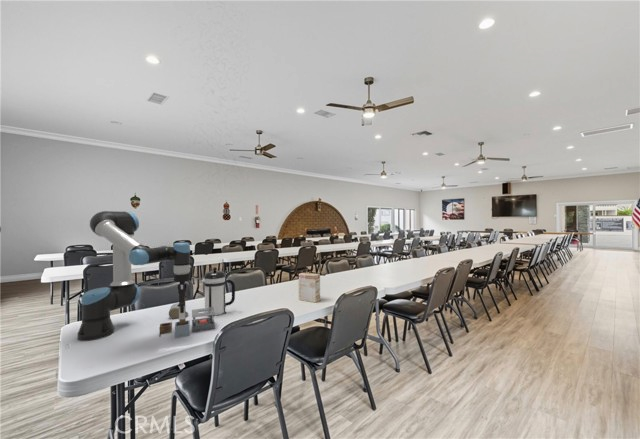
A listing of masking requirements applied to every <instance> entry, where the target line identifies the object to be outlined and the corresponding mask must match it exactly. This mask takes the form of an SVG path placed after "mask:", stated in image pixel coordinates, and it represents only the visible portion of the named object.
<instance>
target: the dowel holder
mask: <svg viewBox="0 0 640 439" xmlns="http://www.w3.org/2000/svg"><path fill="white" fill-rule="evenodd" d="M172 332H173V322H172V321H171V322H170V321H169V322H163V323H160V324H159V337H161V336H162V335H163V334H169V333H172Z"/></svg>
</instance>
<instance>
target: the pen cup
mask: <svg viewBox="0 0 640 439" xmlns="http://www.w3.org/2000/svg"><path fill="white" fill-rule="evenodd" d="M190 323H191V322H190V320H186V325H180V324H179V321H176V322H175V323H174V338H181V337H187V336H188V337H189V336H190V334H191V331H190V330H191V329H190V327H191V326H190V325H191V324H190Z"/></svg>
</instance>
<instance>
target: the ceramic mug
mask: <svg viewBox="0 0 640 439" xmlns="http://www.w3.org/2000/svg"><path fill="white" fill-rule="evenodd" d="M177 305H179V302H178V303H177V302H176V303H174V304H172V305H171V306H170V308H169V310H168V316H169V318H171V319H172V320H174V319H175V320H176V319H179V306H178V307H177ZM185 312H186V318H187V317H188V316H189V313H188V312H187V311H185Z"/></svg>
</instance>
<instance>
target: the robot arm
mask: <svg viewBox="0 0 640 439" xmlns="http://www.w3.org/2000/svg"><path fill="white" fill-rule="evenodd" d="M90 218H91V219H90V220H89V228H90V229H91V231H92V232H93V233H94V234H95V235H97V237H101V238H102V237H103V238H104V239H105V240H107V241H108V242H110V243H111V244H112V277H113V278H112V282H111V283H110V284H109V287H107V286H106V287H105V286H104V287H98V288H94V289H90V290H87V291H86V292H84V293H83V294H82V296H81V302H80V303H81V324H80V326H79V329H78V332H77V340H78V341H86V342H87V341H93V340H100V339H102V338H106V337H109V336H110V335H113V333H115V325H114V324H113V321H112V319H111V311H114V310H115V311H116V310H119V309H122V308H128V307H129V306H132V305H134V304H136V303H137V302H138V300H139V298H140V294H141V291H140V288H139V285H137V284H136V282H135V281H134V280H133V279H132V277H133V276H132V265H133V266H144V265H149V264H155V263H162V262H173V273H174V274H173V281H174V282H175V283H179V284H177V291H178V292H177V293H178V303H179V305H177V307H178V306H179V318H178V321H179V320H180V319H185V311H186V299H187V296H188V295H186V293H187V283H186V282H188V281H191V273H190V272H191V269H192V266H191V247H190V243H189V242H175V243H174V244H173V246H170V245H169V246H167V245H160V246H158V247H157V246H155V247H146V245H144V244H142V242H139V240H137V239H135V237H134V235H135V232H137V231H138V228H139V226H140V222H139V218H138V216H137V215H136V214H135V213H134V212H132V211H116V210H115V211H112V210H111V211H109V210H104V211H99V212H97V213H95V214H94V215H93V216H92V217H90ZM133 237H134V238H133ZM186 312H187V311H186Z"/></svg>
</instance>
